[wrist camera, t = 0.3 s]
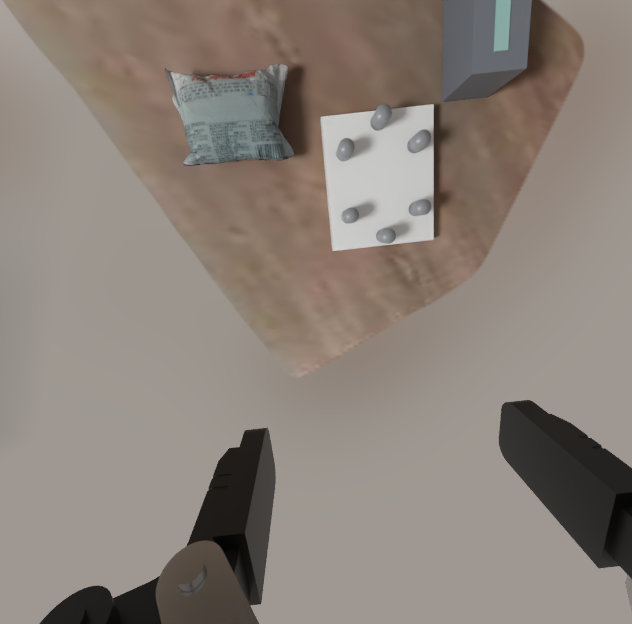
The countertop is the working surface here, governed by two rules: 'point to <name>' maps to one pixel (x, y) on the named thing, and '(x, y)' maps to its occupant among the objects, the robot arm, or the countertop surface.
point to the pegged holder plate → (380, 176)
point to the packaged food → (232, 115)
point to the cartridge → (483, 45)
